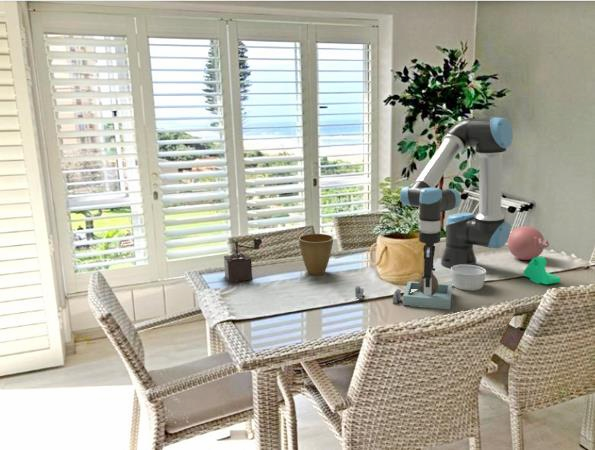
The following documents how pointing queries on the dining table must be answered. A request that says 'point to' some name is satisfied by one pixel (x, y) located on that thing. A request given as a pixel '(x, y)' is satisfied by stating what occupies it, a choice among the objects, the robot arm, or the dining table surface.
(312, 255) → the plant pot
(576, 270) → the dining table surface
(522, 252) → the balloon
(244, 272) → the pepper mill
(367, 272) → the dining table surface
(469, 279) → the ramekin
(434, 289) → the vase
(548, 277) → the green curved piece
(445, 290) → the parts bin
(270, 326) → the dining table surface
